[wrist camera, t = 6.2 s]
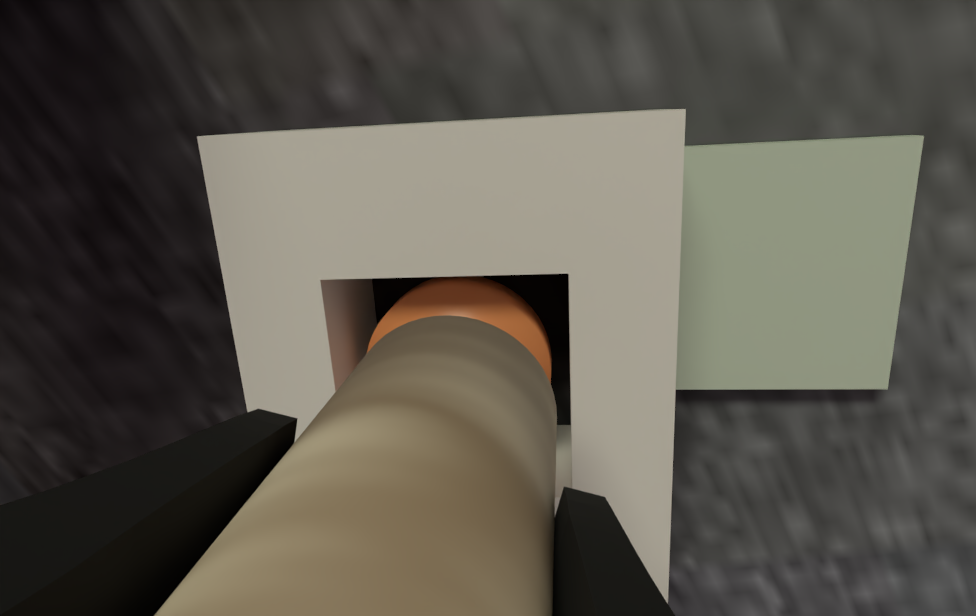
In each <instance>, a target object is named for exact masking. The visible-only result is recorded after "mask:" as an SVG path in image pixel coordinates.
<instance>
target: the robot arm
mask: <svg viewBox="0 0 976 616" xmlns="http://www.w3.org/2000/svg"><path fill="white" fill-rule="evenodd" d="M297 419H298V418H294V417H290V416H286V415H282V414H278V413H274V412H270V411H266V410H262V409H256V410H253V411H250V412H247V413H244V414H242V415H239V416H237V417H234V418H232V419H229V420H227V421H224V422H222V423H219V424H217V425H215V426H212V427H210V428H208V429H205V430H203V431H200V432H198V433H196V434H193V435H191V436H188V437H186V438H184V439H181V440H179V441H176V442H174V443H171V444H169V445H166V446H164V447H162V448H159V449H157V450H154V451H152V452H149V453H147V454H144V455H142V456H140V457H137V458H135V459H132V460H130V461H127V462H124V463H121V464H119V465H116V466H113V467H110V468H108V469H105V470H102V471H99V472H97V473H94V474H91V475H88V476H86V477H83V478H80V479H77V480H75V481H72V482H69V483H67V484H64V485H61V486H58V487H56V488H53V489H50V490H47V491H44V492H41V493H38V494H35V495H32V496H29V497H26V498H23V499H20V500H16V501H13V502H10V503H7V504H4V505H0V616H154V615H155V614H156V612H157V611H158V610H159V609H160V607H161V606H162V605H163V604H164V603H165V601H166V600H167V599H168V598H169V596H170V595H171V594H172V593H173V591H174V590H175V589H176V588H177V587H178V585H179V584H180V583H181V582H182V580H183V579H184V578H185V577H186V575H187V574H188V573H189V572H190V571H191V569H192V568H193V567H194V566H195V564H196V563H197V562H198V561H199V559H200V558H201V557H202V556H203V555H204V553H205V552H206V551H207V550H208V548H209V547H210V546H211V545H212V543H213V542H214V541H215V540H216V539H217V537H218V536H219V535H220V534H221V532H222V531H223V530H224V529H225V528H226V526H227V525H228V524H229V523H230V521H231V520H232V519H233V518H234V516H235V515H236V514H237V513H238V512H239V510H240V509H241V508H242V507H243V505H244V504H245V503H246V502H247V500H248V499H249V498H250V497H251V495H252V494H253V493H254V492H255V491H256V489H257V488H258V487H259V486H260V484H261V483H262V482H263V481H264V479H265V478H266V477H267V476H268V475H269V473H270V472H271V471H272V470H273V468H274V467H275V466H276V465H277V464H278V462H279V461H280V460H281V459H282V457H283V456H284V455H285V454H286V452H287V451H288V450H289V449H290V448H291V446H292V445H293V444H294V441H295V434H296V427H297ZM552 616H675V615H674V613H673V612H672V610H671V608H670V607H669V605H668V604H667V602H666V600H665V599H664V597H663V596H662V594H661V592H660V591H659V589H658V588H657V586H656V584H655V583H654V581H653V580H652V578H651V576H650V574H649V573H648V571H647V569H646V568H645V566H644V564H643V563H642V561H641V559H640V557H639V556H638V554H637V552H636V550H635V549H634V547H633V545H632V544H631V542H630V540H629V538H628V536H627V535H626V533H625V531H624V529H623V528H622V526H621V524H620V522H619V520H618V519H617V517H616V515H615V513H614V512H613V510H612V508H611V506H610V505H609V503H608V501H607V500H606V498H605V497H604V496H600V495H596V494H592V493H588V492H584V491H580V490H576V489H572V488H568V487H564V488H563V491H562V494H561V498H560V501H559V504H558V508H557V511H556V515H555V525H554V570H553V614H552Z"/></svg>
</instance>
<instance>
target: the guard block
mask: <svg viewBox="0 0 976 616" xmlns="http://www.w3.org/2000/svg"><path fill="white" fill-rule="evenodd" d="M685 114H686V109H656V110H639V111H621V112H603V113H585V114H567V115H549V116H531V117H514V118H496V119H478V120H460V121H442V122H424V123H407V124H389V125H371V126H353V127H335V128H317V129H299V130H282V131H266V132H251V133H237V134H223V135H209V136H197V140H198V145H199V151H200V156H201V162H202V167H203V173H204V178H205V184H206V189H207V194H208V200H209V205H210V211H211V216H212V222H213V227H214V233H215V238H216V243H217V249H218V254H219V260H220V265H221V271H222V276H223V282H224V287H225V292H226V298H227V303H228V309H229V314H230V320H231V325H232V331H233V336H234V342H235V347H236V352H237V358H238V363H239V369H240V374H241V380H242V385H243V391H244V396H245V401H246V407H247V412H250V411H253V410H256V409H262V410H266V411H270V412H274V413H278V414H282V415H286V416H290V417H294V418H298V419H297V427H296V434H295V441H296V440H297V439H298V438H299V436H300V435H301V434H302V433H303V432H304V430H305V429H306V428H307V427H308V425H309V424H310V423H311V422H312V420H313V419H314V418H315V417H316V416H317V414H318V413H319V412H320V411H321V409H322V408H323V407H324V406H325V404H326V403H327V402H328V401H329V400H330V398H331V397H332V396H333V395H334V393H335V392H336V391H337V390H338V388H339V387H340V386H341V385H342V384H343V382H344V381H345V380H346V379H347V377H348V376H349V375H350V374H351V372H352V371H353V370H354V369H355V368H356V366H357V365H358V364H359V363H360V361H361V360H362V359H363V358H364V356H365V355H366V354H367V350H368V345H369V342H370V340H371V337H372V334H373V332H374V331H375V329H376V327H377V319H376V310H375V301H374V292H373V283H372V278H412V277H452V276H492V275H532V274H568V296H569V353H570V410H571V425H557V437H556V481H555V515H556V511H557V508H558V504H559V501H560V498H561V494H562V491H563V488H564V487H568V488H572V489H576V490H580V491H584V492H588V493H592V494H596V495H600V496H604V497H605V498H606V500H607V501H608V503H609V505H610V506H611V508H612V510H613V512H614V513H615V515H616V517H617V519H618V520H619V522H620V524H621V526H622V528H623V529H624V531H625V533H626V535H627V536H628V538H629V540H630V542H631V544H632V545H633V547H634V549H635V550H636V552H637V554H638V556H639V557H640V559H641V561H642V563H643V564H644V566H645V568H646V569H647V571H648V573H649V574H650V576H651V578H652V580H653V581H654V583H655V584H656V586H657V588H658V589H659V591H660V592H661V594H662V596H663V597H664V599H665V600H666V602H667V604H668V586H669V558H670V530H671V503H672V475H673V447H674V419H675V392H676V364H677V336H678V309H679V281H680V253H681V225H682V198H683V170H684V142H685ZM295 441H294V443H295Z"/></svg>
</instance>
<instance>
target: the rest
mask: <svg viewBox="0 0 976 616" xmlns="http://www.w3.org/2000/svg"><path fill="white" fill-rule="evenodd" d="M923 139H924V136H918V135H902V136H882V137H861V138H841V139H820V140H800V141H779V142H759V143H738V144H718V145H697V146H684V170H683V198H682V225H681V253H680V281H679V309H678V336H677V364H676V390H749V389H888V383H889V376H890V369H891V362H892V355H893V348H894V341H895V334H896V327H897V320H898V313H899V306H900V299H901V292H902V285H903V278H904V271H905V264H906V257H907V250H908V243H909V236H910V230H911V223H912V216H913V209H914V202H915V195H916V188H917V181H918V174H919V167H920V160H921V153H922V146H923Z"/></svg>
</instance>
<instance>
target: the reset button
mask: <svg viewBox="0 0 976 616" xmlns="http://www.w3.org/2000/svg"><path fill="white" fill-rule="evenodd" d="M445 315H451V316H462V317H468V318H472V319H477V320H480V321H483V322H486V323H488V324H491V325H493V326H495V327H497V328H499V329H501V330H503V331H505V332H507V333H508V334H510V335H511V336H513V337H514V338H516V339H517V340H518V341H519V342H520V343H521V344H523V345H524V346H525V347H526V348H527V349H528V350H529V351H530V352H531V353H532V355H533V356H534V357H535V358H536V359H537V361H538V362H539V364H540V365H541V366H542V368H543V369H544V371H545V373H546V375H547V377H548V379H549V381H550V384H551V365H552V356H551V347H550V343H549V339H548V336H547V333H546V330H545V328H544V326H543V324H542V322H541V320H540V319H539V317H538V315H537V314H536V313H535V311H534V310H533V309H532V307H531V306H530V305H529V304H528V303H527V302H526V301H525V300H524V299H523V298H522V297H520V296H519V295H518V294H517V293H515V292H514V291H513V290H511V289H509V288H508V287H506V286H504V285H502V284H500V283H498V282H496V281H493V280H490V279H487V278H484V277H480V276H452V277H436V278H433V279H430V280H427V281H425V282H423V283H421V284H419V285H417V286H415V287H413V288H412V289H411V290H409V291H408V292H406V293H405V294H404V295H403V296H402V297H401V298H400V299H399V300H398V301H397V302H396V303H395V304H394V305H393V306H392V308H391V309H390V310H389V311H388V312H387V313H386V314H385V316H384V317H383V318H382V320H381V321H380V322H379V324H378V325H377V327H376V329H375V331H374V332H373V334H372V337H371V340H370V342H369V345H368V350H367V353H368V352H369V350H370V349H371V348H372V347H373V346H374V345H375V344H376V343H377V342H378V341H379V340H380V339H381V338H382V337H383V336H385V335H386V334H387V333H389V332H391V331H392V330H394V329H395V328H397V327H399V326H401V325H403V324H406V323H408V322H411V321H414V320H417V319H420V318H425V317H431V316H445Z"/></svg>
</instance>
